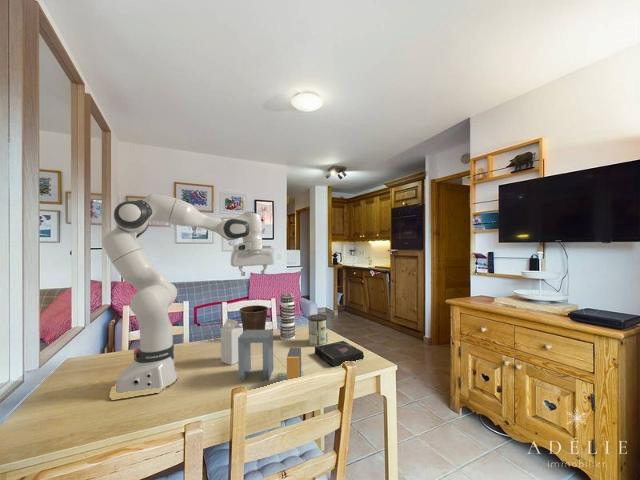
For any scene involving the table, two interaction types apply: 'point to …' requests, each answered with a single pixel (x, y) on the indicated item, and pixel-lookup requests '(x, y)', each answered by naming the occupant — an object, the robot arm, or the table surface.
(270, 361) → the frame
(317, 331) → the coffee can
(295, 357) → the orange and grey block
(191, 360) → the table surface
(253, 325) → the plant pot
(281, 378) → the pad
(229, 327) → the milk carton
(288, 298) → the white and brown cylinder
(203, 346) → the table surface
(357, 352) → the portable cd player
